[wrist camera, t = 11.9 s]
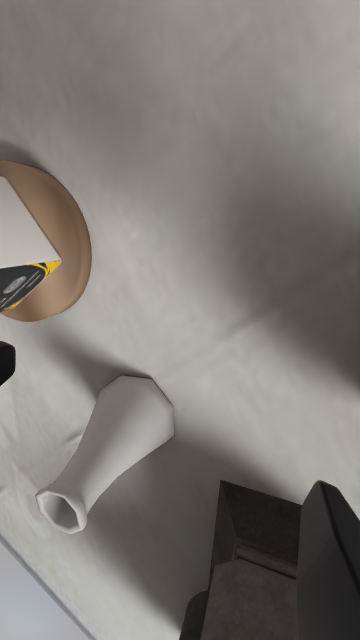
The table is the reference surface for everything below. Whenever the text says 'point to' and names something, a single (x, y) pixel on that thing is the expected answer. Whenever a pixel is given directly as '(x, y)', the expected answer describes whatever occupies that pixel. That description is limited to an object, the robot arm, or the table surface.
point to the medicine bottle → (21, 249)
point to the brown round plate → (52, 241)
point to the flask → (108, 449)
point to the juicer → (249, 571)
